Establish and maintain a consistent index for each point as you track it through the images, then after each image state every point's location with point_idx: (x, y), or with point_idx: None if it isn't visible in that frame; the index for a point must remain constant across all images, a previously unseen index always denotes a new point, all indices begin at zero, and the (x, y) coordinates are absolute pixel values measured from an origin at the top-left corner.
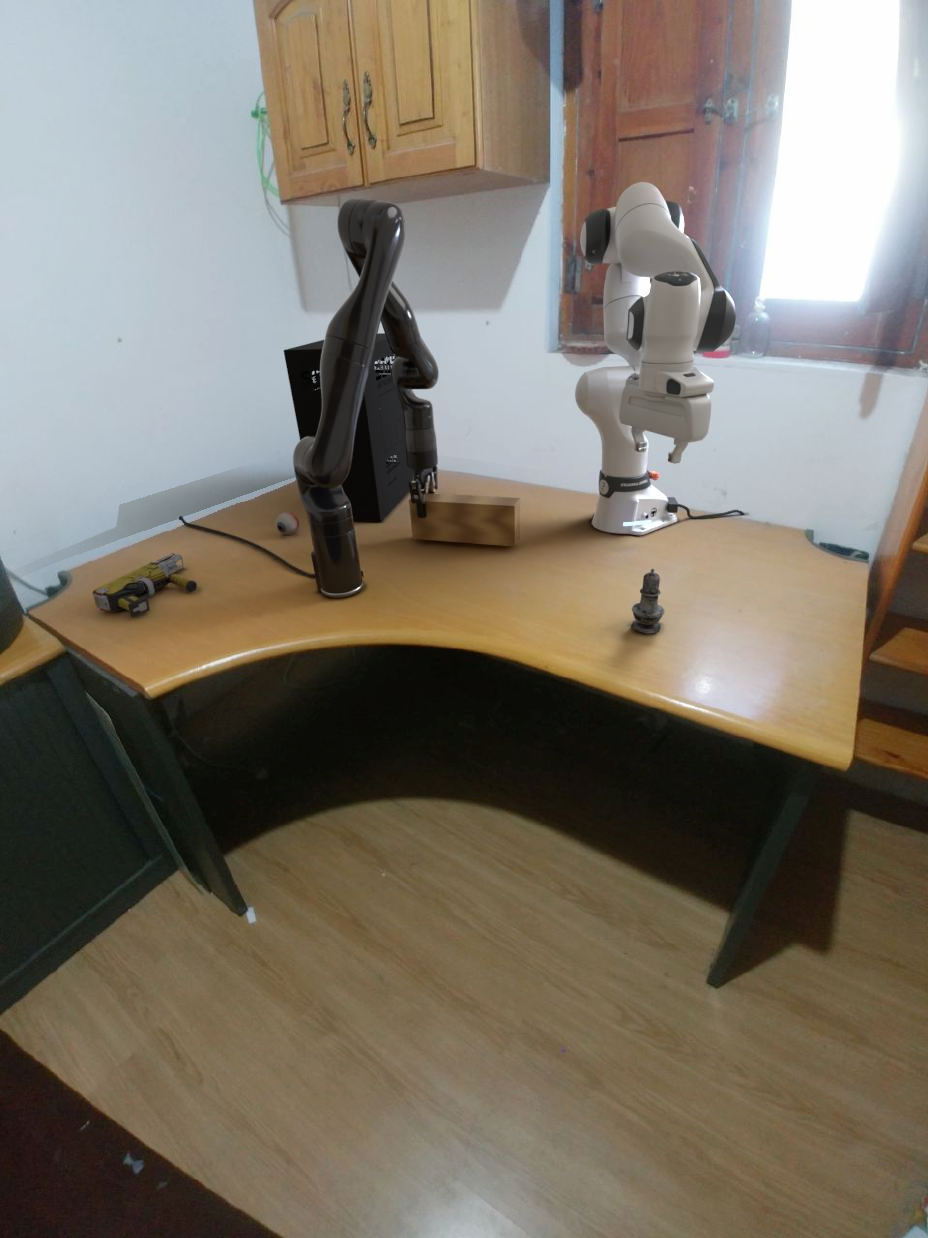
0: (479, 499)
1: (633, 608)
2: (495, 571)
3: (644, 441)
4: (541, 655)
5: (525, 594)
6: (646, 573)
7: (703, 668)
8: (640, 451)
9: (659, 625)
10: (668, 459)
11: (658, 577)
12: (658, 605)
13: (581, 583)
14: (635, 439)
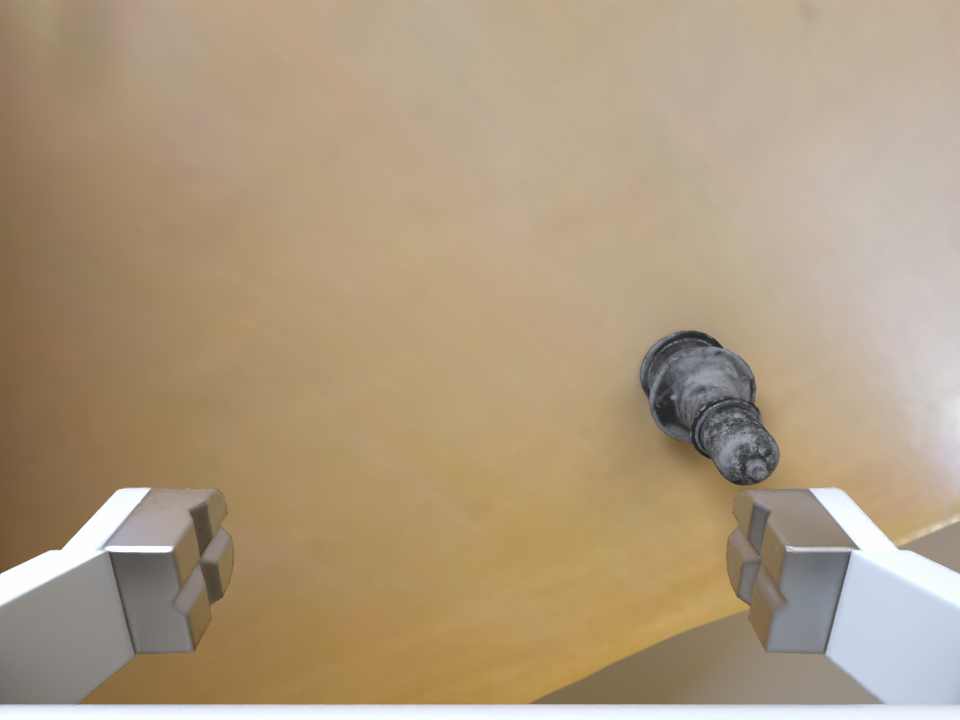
0: None
1: (670, 431)
2: None
3: (120, 551)
4: (629, 649)
5: (323, 546)
6: (728, 471)
7: (932, 377)
8: (229, 556)
9: (711, 341)
10: (744, 589)
11: (777, 451)
12: (706, 355)
13: (332, 370)
14: (84, 685)
